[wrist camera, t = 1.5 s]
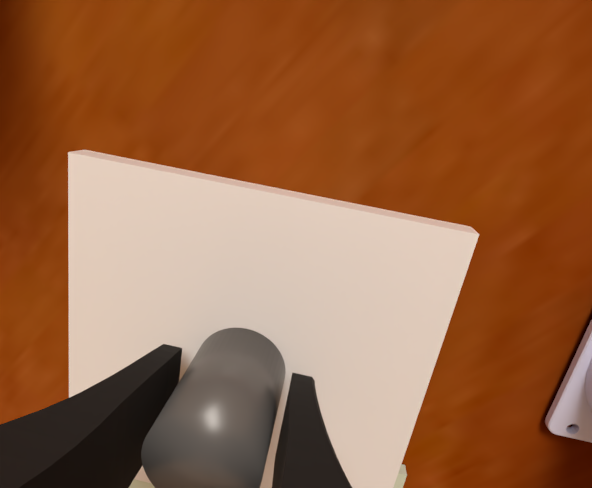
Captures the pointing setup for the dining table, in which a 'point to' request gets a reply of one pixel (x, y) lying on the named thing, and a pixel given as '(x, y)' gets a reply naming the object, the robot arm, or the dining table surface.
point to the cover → (257, 314)
